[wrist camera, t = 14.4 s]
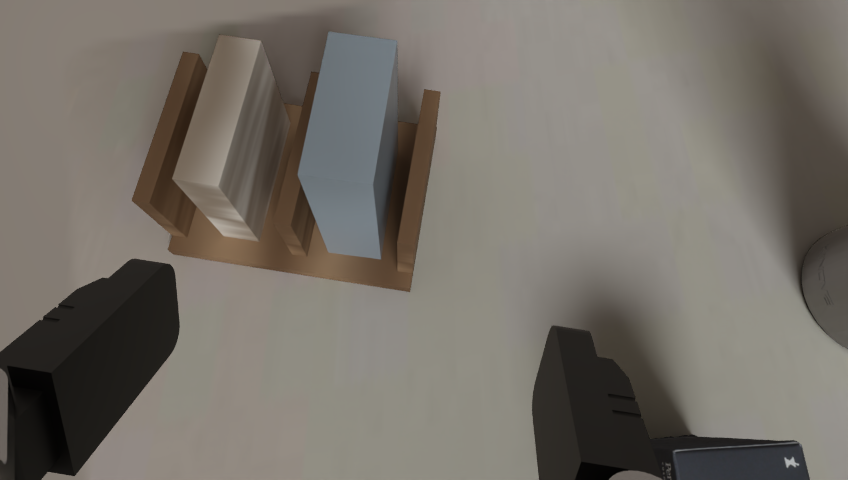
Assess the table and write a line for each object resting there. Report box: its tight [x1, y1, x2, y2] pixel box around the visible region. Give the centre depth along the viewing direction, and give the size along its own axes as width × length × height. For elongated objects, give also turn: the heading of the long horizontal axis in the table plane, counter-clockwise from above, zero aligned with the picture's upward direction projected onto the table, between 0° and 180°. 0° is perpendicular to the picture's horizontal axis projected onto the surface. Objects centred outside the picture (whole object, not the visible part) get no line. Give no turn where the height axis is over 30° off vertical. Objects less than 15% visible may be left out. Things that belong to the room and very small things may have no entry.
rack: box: [132, 34, 440, 292], centre depth 35 cm, size 16×12×10 cm
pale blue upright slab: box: [297, 32, 398, 259], centre depth 33 cm, size 4×8×12 cm, turn 173°
